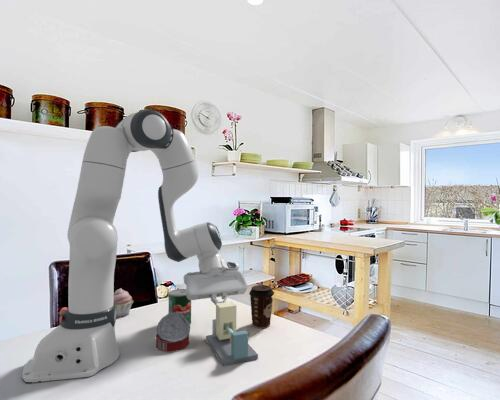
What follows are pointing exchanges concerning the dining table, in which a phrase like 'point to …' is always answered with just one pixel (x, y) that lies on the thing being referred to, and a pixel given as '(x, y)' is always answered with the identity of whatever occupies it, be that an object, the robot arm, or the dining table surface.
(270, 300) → the coffee cup
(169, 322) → the canned food
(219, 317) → the sleeve
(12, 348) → the dining table surface
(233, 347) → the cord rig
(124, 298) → the cupcake
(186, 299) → the canned tomato
